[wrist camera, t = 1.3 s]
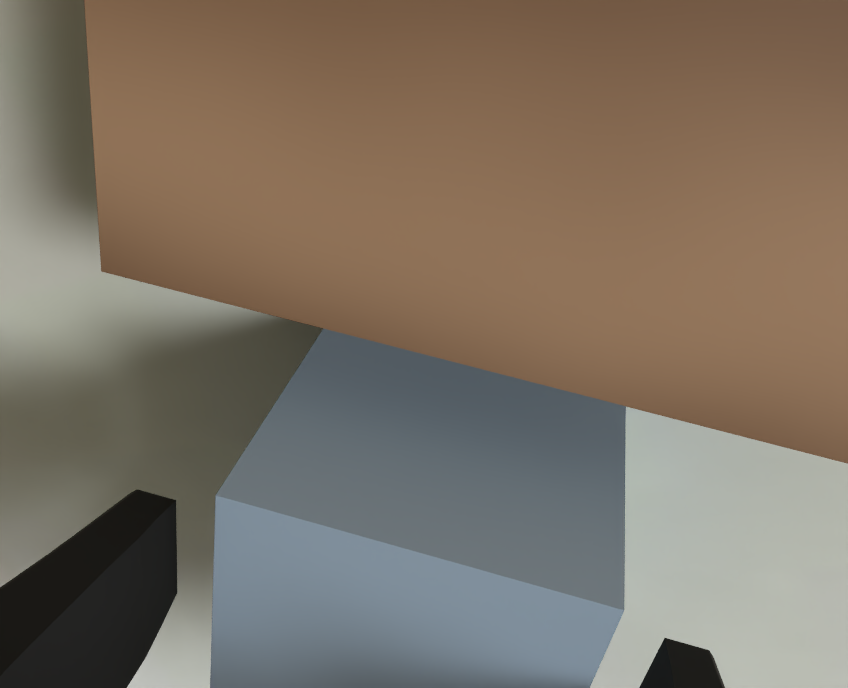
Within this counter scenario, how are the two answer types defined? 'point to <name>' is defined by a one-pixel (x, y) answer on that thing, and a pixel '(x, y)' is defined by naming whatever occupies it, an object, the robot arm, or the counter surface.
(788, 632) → the counter surface
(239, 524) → the slate-blue cube
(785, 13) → the walnut base
